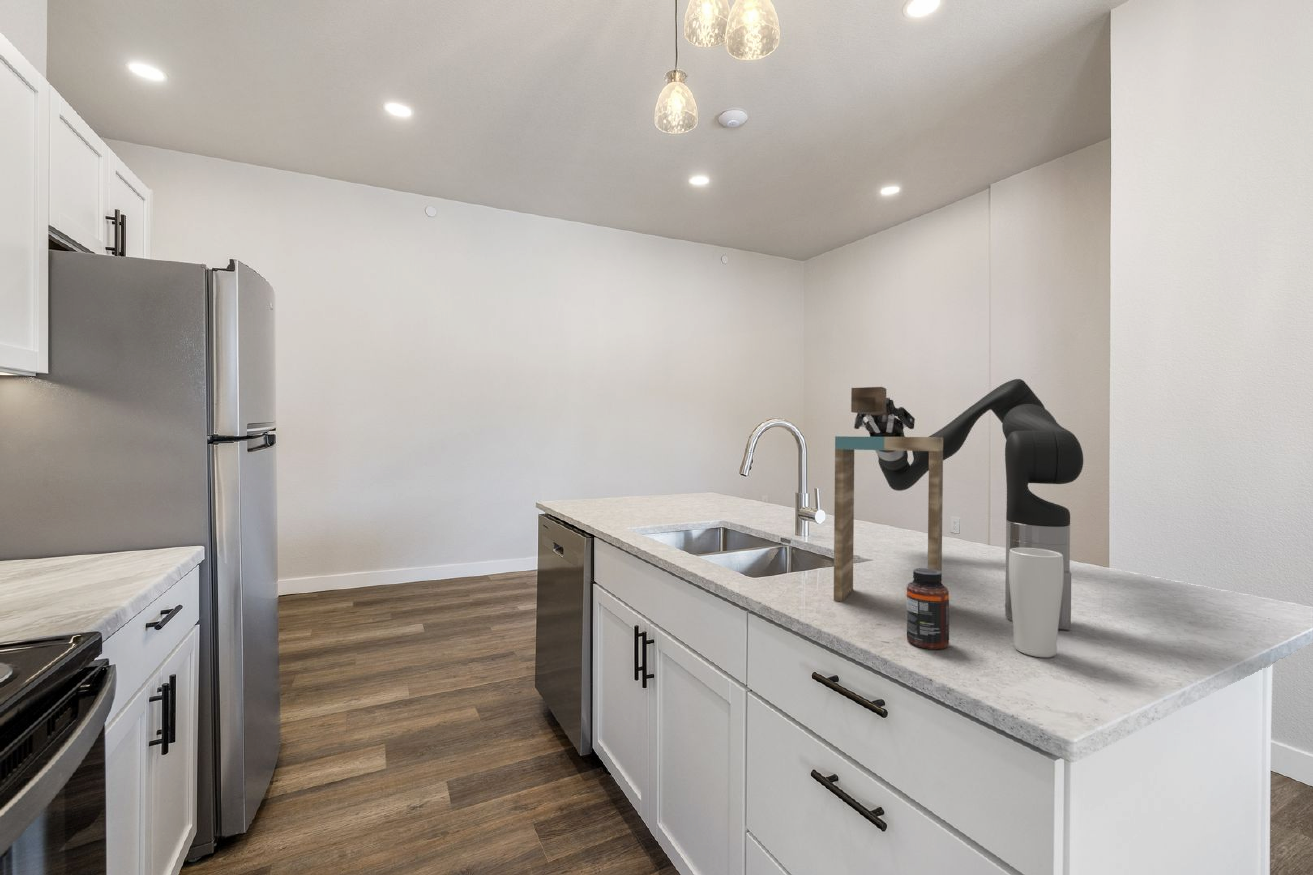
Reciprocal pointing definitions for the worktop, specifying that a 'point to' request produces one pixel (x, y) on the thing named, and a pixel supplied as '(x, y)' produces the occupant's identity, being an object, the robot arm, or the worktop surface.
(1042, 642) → the white tall cup
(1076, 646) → the worktop surface
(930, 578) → the supplement bottle
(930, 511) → the oak stand
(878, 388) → the brown wooden block
